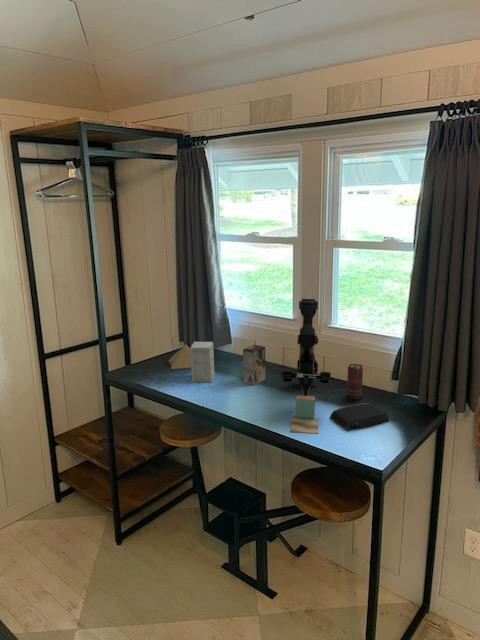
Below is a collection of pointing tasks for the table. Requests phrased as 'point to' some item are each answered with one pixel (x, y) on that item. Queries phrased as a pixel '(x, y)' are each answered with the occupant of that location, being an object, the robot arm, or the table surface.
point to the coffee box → (254, 364)
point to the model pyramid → (181, 358)
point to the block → (305, 407)
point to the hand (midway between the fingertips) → (305, 397)
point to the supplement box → (202, 361)
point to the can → (354, 381)
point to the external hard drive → (359, 416)
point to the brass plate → (304, 425)
